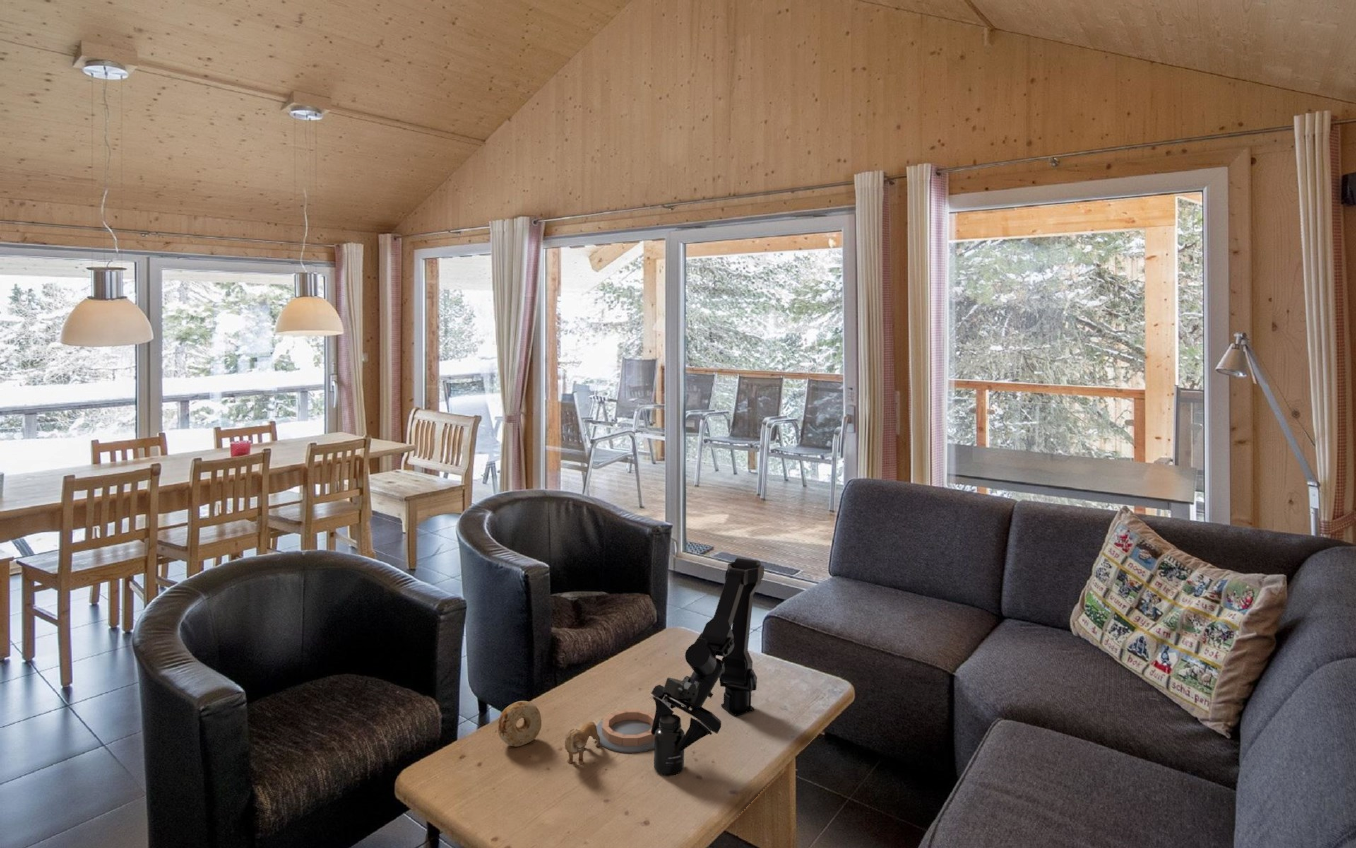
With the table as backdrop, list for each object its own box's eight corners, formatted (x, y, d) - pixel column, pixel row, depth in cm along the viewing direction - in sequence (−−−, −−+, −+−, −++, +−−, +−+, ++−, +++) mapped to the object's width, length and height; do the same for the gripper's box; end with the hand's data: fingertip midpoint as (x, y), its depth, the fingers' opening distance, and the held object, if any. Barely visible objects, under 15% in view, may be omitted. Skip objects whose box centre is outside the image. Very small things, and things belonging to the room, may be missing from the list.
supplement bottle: (673, 780, 177) (674, 729, 175) (648, 771, 180) (648, 720, 179) (689, 766, 182) (690, 716, 181) (664, 757, 186) (665, 708, 184)
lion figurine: (582, 774, 179) (582, 736, 177) (559, 771, 180) (559, 733, 179) (604, 741, 193) (604, 706, 192) (583, 738, 194) (583, 703, 193)
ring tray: (645, 708, 209) (645, 699, 208) (681, 740, 194) (681, 730, 193) (582, 726, 199) (582, 716, 199) (615, 760, 184) (615, 750, 184)
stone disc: (502, 753, 187) (502, 712, 185) (497, 746, 190) (496, 706, 188) (544, 741, 192) (543, 701, 191) (538, 734, 195) (537, 695, 194)
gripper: (657, 651, 188) (619, 710, 182) (713, 678, 174) (674, 743, 168) (682, 674, 194) (646, 731, 188) (737, 701, 180) (700, 765, 174)
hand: (665, 742), depth 180 cm, fingers open, 9 cm apart
